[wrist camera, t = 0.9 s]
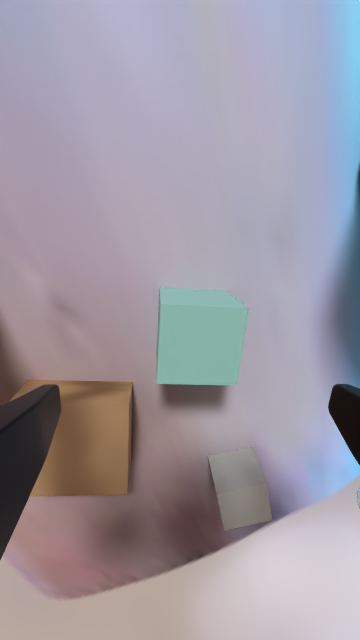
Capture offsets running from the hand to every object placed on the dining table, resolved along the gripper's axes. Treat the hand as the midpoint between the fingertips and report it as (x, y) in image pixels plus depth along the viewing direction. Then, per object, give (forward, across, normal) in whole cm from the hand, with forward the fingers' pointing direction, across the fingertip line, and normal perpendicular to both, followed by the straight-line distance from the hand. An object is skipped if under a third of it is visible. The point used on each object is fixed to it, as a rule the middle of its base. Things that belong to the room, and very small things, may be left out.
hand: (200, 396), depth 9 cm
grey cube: (+12, -6, +16) cm, 20 cm away
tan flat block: (+12, +7, +10) cm, 18 cm away
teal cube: (+12, -1, +1) cm, 12 cm away
